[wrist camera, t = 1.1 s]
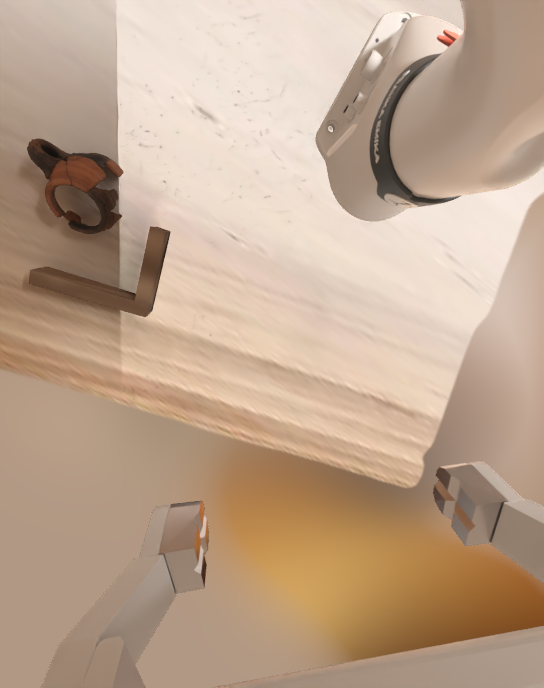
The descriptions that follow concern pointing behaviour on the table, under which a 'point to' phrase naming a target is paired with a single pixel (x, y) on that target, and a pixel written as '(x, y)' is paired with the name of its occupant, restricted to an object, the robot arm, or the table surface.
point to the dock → (108, 294)
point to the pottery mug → (76, 181)
